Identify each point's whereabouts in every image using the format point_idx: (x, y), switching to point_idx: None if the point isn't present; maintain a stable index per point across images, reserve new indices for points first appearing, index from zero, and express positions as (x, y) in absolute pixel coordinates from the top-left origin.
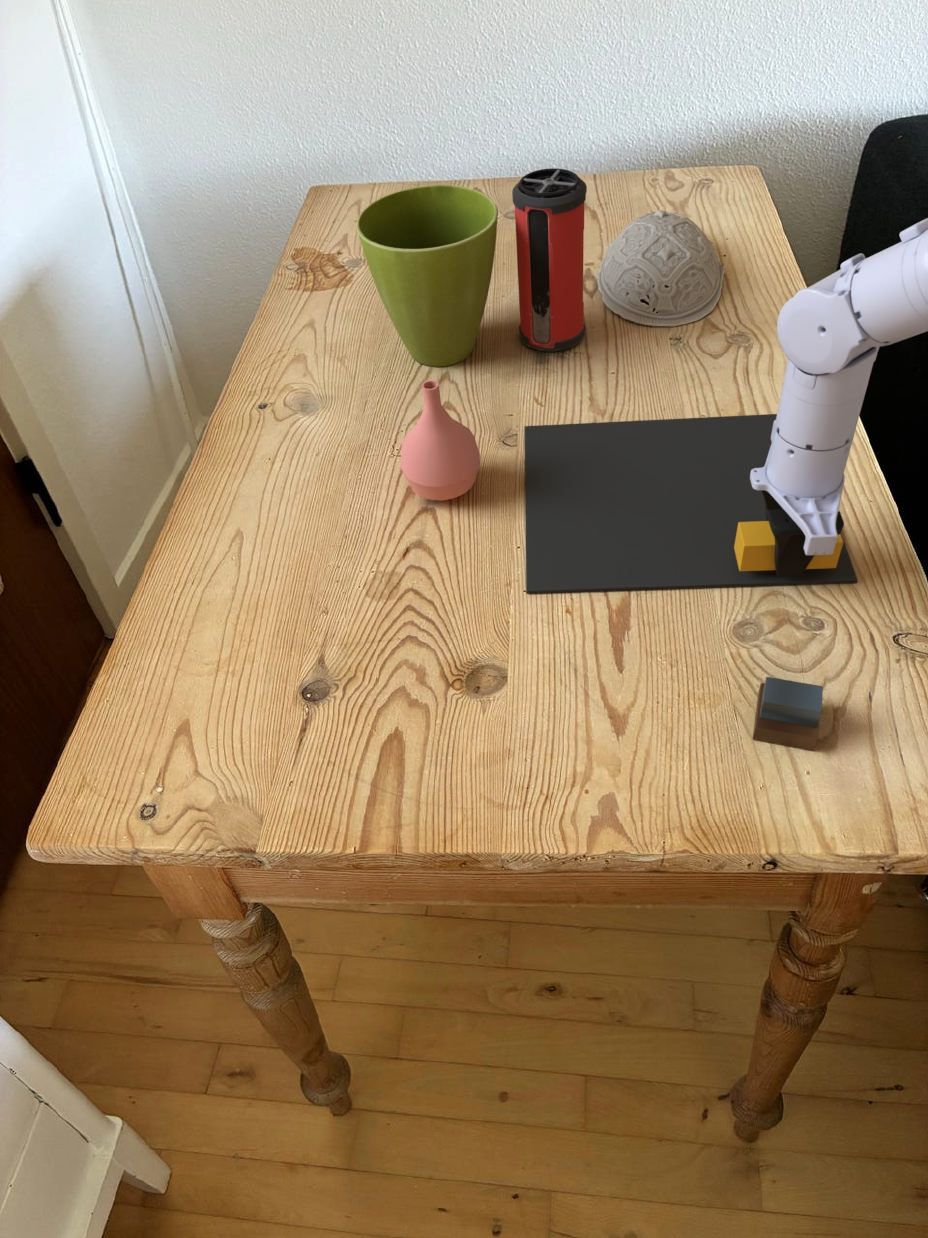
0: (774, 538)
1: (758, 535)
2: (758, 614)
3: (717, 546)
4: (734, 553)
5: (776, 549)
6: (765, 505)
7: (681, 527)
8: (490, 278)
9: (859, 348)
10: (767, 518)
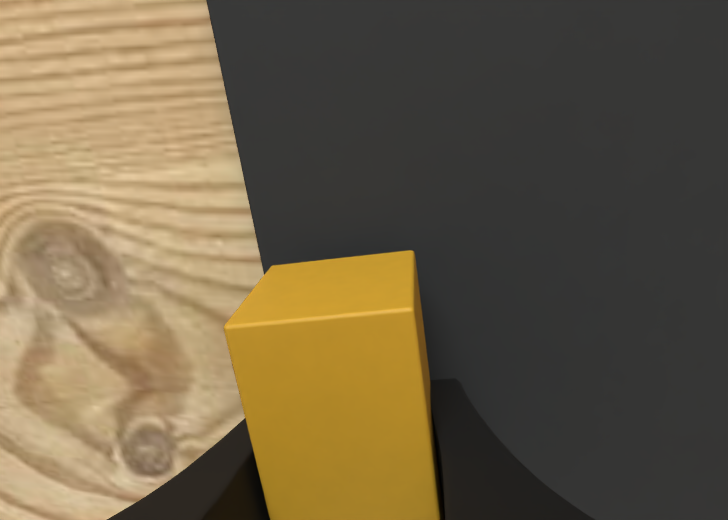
0: (297, 463)
1: (310, 397)
2: (150, 306)
3: (467, 178)
4: (426, 244)
5: (196, 471)
6: (501, 471)
7: (597, 9)
8: None
9: None
10: (442, 449)
